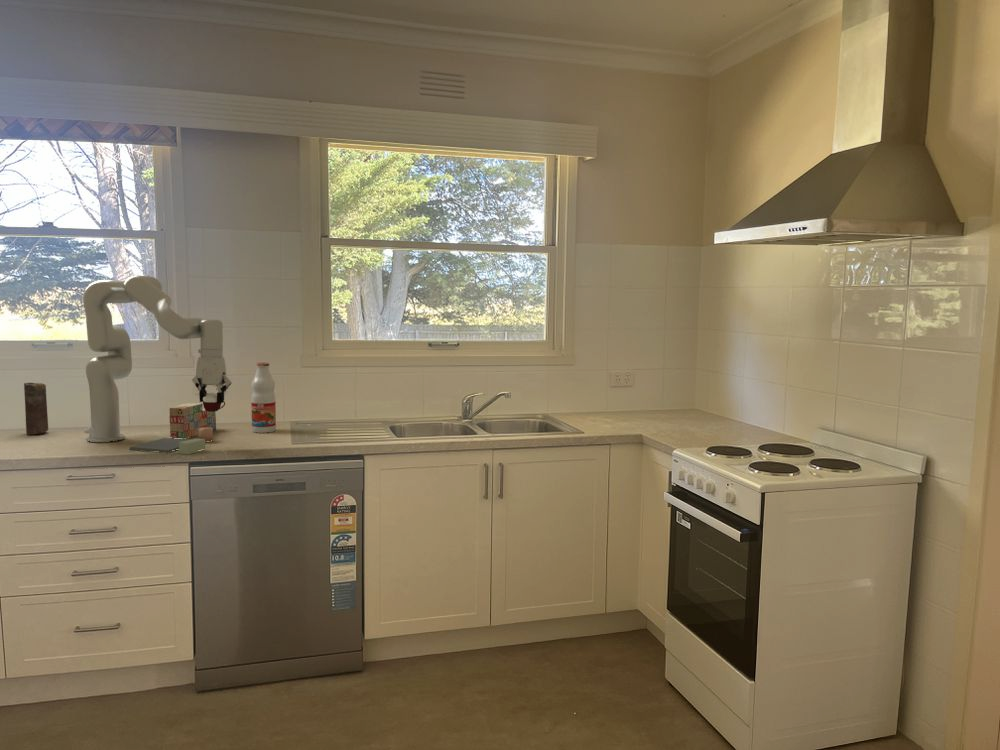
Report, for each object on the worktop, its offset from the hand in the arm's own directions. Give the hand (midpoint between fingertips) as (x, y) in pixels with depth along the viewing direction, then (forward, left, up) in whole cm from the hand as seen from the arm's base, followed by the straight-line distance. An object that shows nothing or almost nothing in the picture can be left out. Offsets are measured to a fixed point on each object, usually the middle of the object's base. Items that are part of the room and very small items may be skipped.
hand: (211, 401), depth 267 cm
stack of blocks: (-21, +17, -17) cm, 32 cm away
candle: (-76, -3, -16) cm, 78 cm away
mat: (-14, -7, -16) cm, 23 cm away
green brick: (0, -11, -16) cm, 20 cm away
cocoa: (0, 0, -4) cm, 4 cm away
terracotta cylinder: (-7, +6, -16) cm, 19 cm away
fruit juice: (+2, +31, -16) cm, 35 cm away
